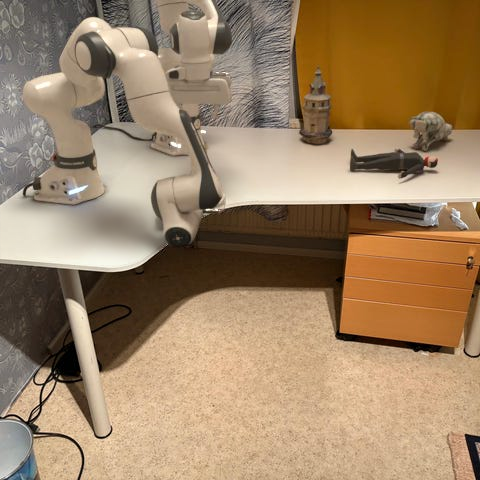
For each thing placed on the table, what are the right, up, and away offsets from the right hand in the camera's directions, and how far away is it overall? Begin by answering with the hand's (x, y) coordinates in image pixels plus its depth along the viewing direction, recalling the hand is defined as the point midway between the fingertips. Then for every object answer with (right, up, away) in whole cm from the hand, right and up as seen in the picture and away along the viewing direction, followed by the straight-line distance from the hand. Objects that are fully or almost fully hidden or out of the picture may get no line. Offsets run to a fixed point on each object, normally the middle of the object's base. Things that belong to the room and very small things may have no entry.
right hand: (199, 118), depth 163 cm
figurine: (+88, 0, +50) cm, 101 cm away
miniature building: (+44, +4, +57) cm, 72 cm away
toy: (+67, -12, +29) cm, 74 cm away
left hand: (-1, -22, +1) cm, 22 cm away
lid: (-1, -9, +4) cm, 9 cm away
